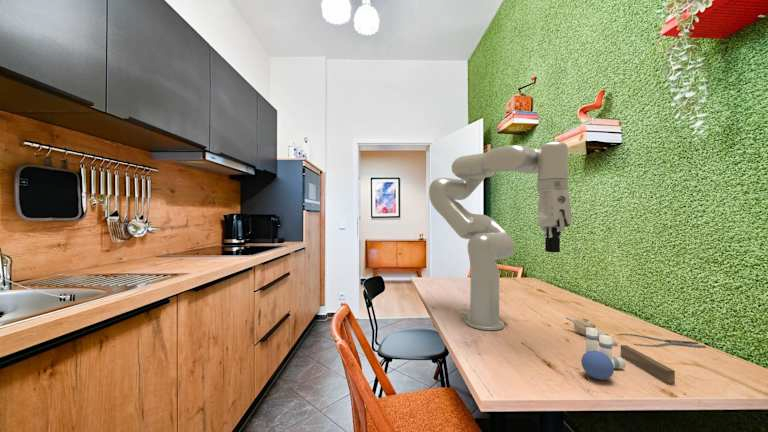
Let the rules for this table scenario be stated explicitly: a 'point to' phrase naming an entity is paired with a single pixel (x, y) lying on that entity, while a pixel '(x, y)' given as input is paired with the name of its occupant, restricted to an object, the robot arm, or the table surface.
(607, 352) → the pin back right
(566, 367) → the table surface
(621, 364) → the pin front
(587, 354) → the ball
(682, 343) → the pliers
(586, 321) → the toy
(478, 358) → the table surface
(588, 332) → the pin back left
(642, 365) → the bar
